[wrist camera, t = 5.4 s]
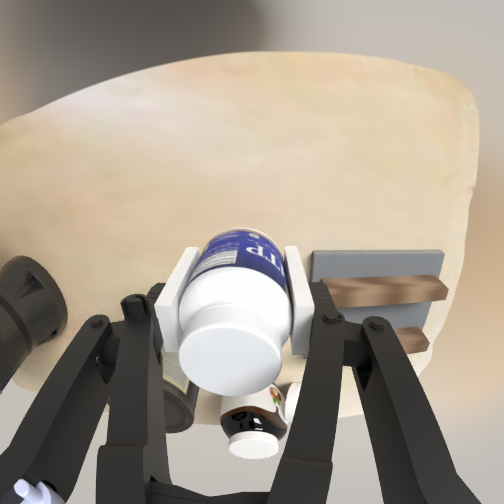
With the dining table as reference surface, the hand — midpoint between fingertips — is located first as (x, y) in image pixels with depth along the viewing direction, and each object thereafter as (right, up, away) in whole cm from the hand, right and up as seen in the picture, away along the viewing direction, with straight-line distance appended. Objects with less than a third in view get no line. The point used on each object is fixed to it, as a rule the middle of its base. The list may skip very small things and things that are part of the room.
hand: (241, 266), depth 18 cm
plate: (+17, -6, +18) cm, 25 cm away
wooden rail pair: (+17, -7, +17) cm, 25 cm away
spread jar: (+3, -21, +25) cm, 32 cm away
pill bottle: (0, 0, +1) cm, 1 cm away
